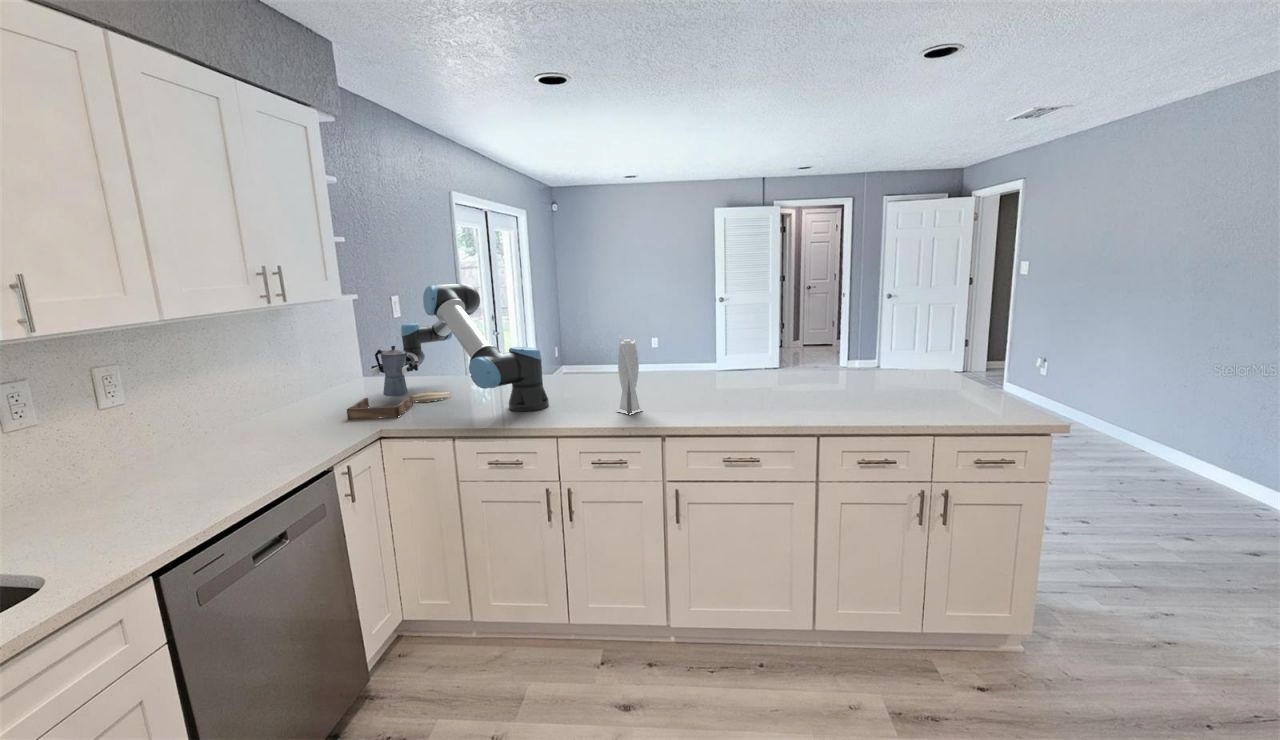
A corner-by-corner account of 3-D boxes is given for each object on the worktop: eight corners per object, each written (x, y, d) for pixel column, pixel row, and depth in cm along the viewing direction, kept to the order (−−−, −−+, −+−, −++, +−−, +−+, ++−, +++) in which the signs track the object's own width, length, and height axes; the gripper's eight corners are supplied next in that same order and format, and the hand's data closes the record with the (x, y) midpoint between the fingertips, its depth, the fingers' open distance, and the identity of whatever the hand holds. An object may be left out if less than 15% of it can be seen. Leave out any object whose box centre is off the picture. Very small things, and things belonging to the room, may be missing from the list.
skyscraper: (613, 411, 208) (610, 336, 202) (628, 406, 214) (626, 333, 208) (629, 415, 202) (627, 338, 196) (645, 410, 208) (643, 335, 202)
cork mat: (454, 398, 233) (454, 397, 233) (413, 404, 226) (413, 402, 226) (447, 391, 247) (446, 389, 247) (408, 396, 240) (407, 394, 239)
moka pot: (404, 397, 223) (400, 347, 219) (370, 396, 226) (364, 347, 222) (418, 392, 232) (414, 344, 228) (385, 391, 235) (380, 343, 231)
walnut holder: (366, 407, 223) (364, 398, 222) (413, 405, 225) (412, 395, 224) (347, 419, 207) (346, 409, 206) (399, 417, 208) (398, 407, 207)
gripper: (434, 369, 246) (419, 379, 225) (379, 371, 245) (358, 382, 223) (432, 352, 245) (417, 361, 223) (377, 354, 243) (356, 364, 222)
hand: (387, 372), depth 223 cm, fingers closed on moka pot, 11 cm apart
